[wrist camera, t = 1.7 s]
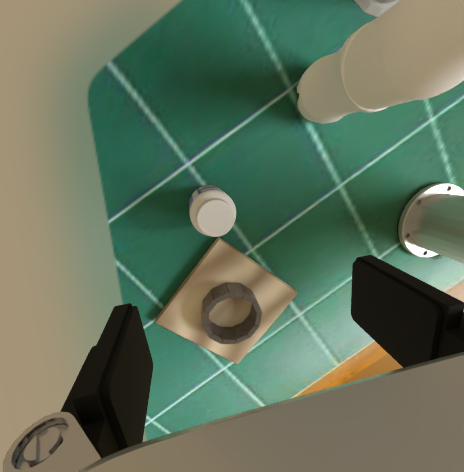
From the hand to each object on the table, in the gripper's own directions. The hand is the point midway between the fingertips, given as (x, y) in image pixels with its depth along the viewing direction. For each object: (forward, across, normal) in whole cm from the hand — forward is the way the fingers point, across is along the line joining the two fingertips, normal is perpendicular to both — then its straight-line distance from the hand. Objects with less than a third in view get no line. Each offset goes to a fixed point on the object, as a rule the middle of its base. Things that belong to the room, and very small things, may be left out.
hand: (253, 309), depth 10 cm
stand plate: (+26, -1, +16) cm, 31 cm away
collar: (+24, -1, +16) cm, 30 cm away
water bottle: (+26, -17, -12) cm, 33 cm away
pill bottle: (+26, -1, 0) cm, 26 cm away
